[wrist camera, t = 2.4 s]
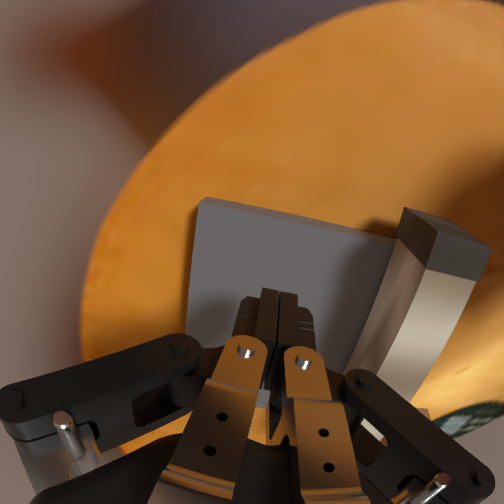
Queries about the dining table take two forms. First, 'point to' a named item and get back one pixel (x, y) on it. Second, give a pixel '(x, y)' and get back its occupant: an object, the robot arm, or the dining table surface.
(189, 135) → the dining table surface
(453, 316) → the folding leg
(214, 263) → the grey slab beige block
